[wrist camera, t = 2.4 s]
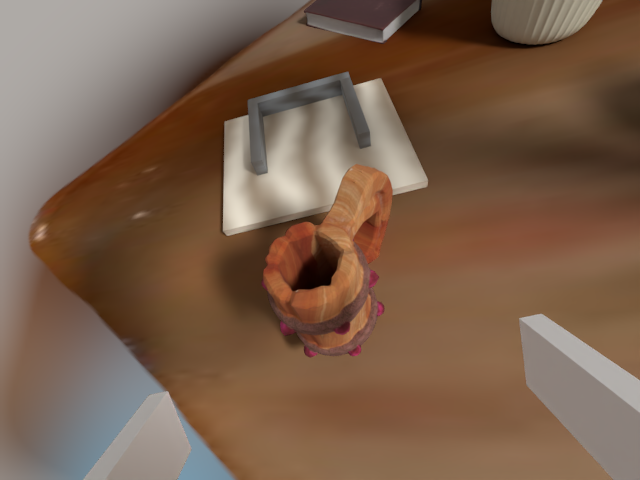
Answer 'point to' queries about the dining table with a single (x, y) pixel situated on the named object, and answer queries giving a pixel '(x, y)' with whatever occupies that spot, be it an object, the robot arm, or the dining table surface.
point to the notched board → (310, 150)
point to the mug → (332, 268)
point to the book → (362, 17)
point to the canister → (540, 19)
